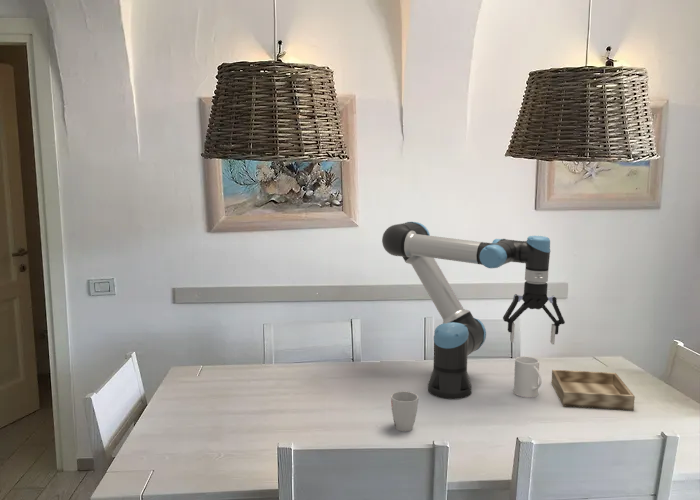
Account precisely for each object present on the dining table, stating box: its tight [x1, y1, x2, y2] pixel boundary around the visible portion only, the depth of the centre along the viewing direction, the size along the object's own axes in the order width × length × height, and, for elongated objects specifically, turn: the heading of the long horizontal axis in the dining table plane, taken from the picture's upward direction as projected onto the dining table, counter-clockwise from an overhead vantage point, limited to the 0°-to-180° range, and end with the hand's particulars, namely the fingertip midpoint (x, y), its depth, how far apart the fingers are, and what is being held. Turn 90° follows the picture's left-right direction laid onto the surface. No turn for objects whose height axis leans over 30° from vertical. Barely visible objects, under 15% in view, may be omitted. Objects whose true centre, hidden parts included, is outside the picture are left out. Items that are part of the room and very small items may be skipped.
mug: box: [512, 355, 542, 399], centre depth 210 cm, size 12×8×12 cm
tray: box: [550, 369, 636, 412], centre depth 209 cm, size 22×22×5 cm
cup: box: [390, 390, 419, 432], centre depth 183 cm, size 8×8×10 cm
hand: (531, 342), depth 209 cm, fingers open, 13 cm apart
